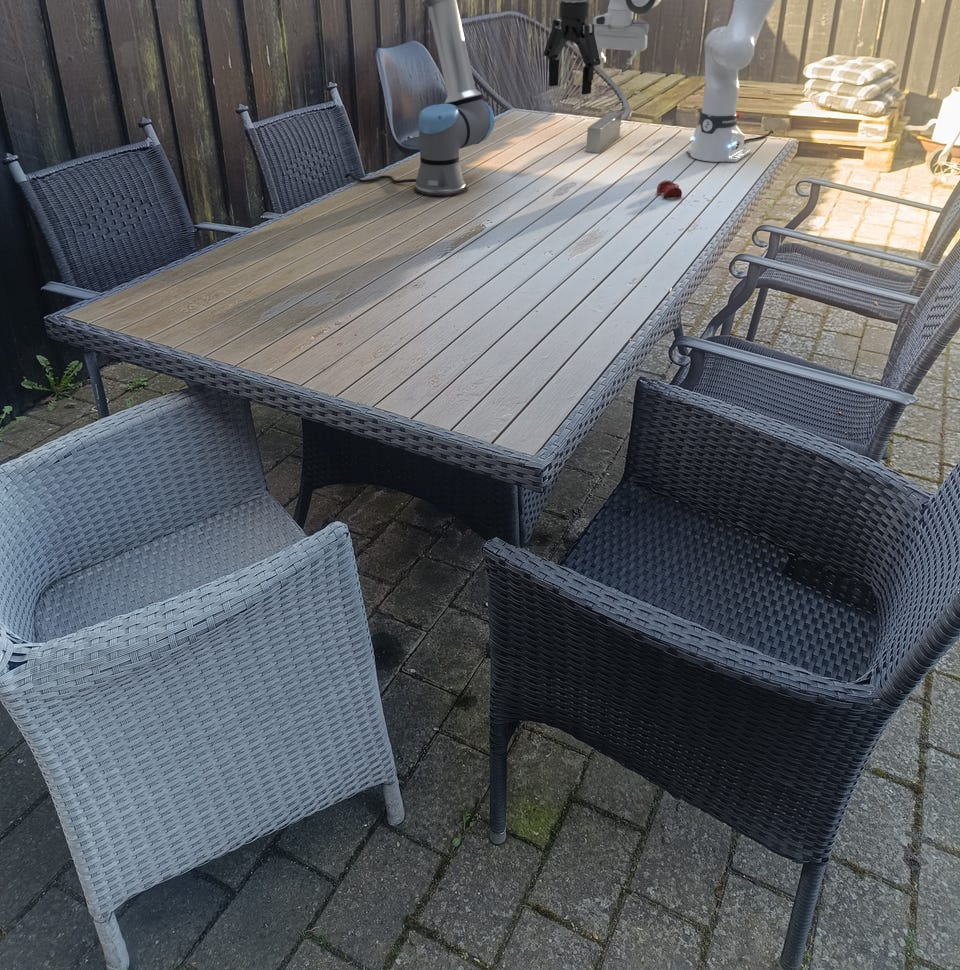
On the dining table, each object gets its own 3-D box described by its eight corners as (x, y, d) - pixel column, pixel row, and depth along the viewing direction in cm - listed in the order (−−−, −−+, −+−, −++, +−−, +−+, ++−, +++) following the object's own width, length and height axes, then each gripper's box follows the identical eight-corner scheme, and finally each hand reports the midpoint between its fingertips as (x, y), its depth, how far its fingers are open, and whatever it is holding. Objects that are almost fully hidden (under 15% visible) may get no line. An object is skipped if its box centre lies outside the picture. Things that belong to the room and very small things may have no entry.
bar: (598, 153, 293) (600, 128, 289) (585, 151, 295) (587, 127, 290) (619, 136, 313) (621, 113, 308) (607, 135, 314) (609, 112, 309)
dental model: (673, 176, 254) (684, 184, 248) (671, 190, 257) (683, 198, 251) (655, 178, 253) (666, 186, 247) (654, 192, 256) (665, 200, 250)
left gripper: (618, 4, 212) (611, 95, 224) (554, -5, 228) (550, 81, 241) (596, 6, 208) (590, 99, 221) (532, -3, 225) (530, 84, 237)
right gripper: (652, 19, 286) (647, 64, 294) (594, 16, 293) (591, 60, 301) (647, 21, 282) (642, 67, 290) (589, 18, 288) (586, 63, 296)
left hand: (569, 89), depth 231 cm, fingers open, 13 cm apart
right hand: (616, 63), depth 295 cm, fingers open, 8 cm apart
